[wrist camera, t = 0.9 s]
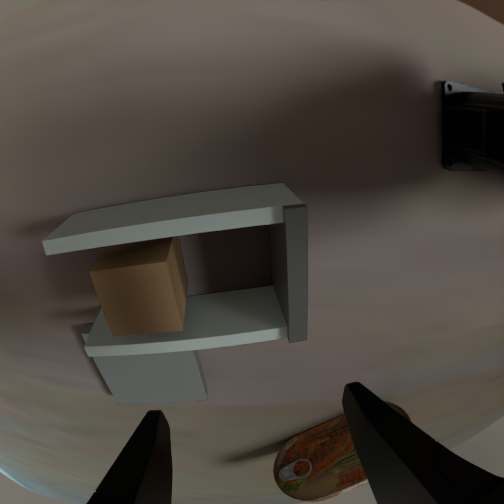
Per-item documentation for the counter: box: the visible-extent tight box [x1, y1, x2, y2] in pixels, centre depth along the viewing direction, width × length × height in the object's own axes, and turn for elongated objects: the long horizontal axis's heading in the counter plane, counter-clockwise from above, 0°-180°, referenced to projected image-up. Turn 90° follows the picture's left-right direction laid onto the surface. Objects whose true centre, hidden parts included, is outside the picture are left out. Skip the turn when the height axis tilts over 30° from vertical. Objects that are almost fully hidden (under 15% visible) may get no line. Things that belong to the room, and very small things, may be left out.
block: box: [89, 236, 188, 336], centre depth 17 cm, size 4×4×5 cm
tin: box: [273, 401, 411, 502], centre depth 26 cm, size 15×3×8 cm, turn 118°
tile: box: [81, 324, 208, 404], centre depth 22 cm, size 8×8×1 cm
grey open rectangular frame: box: [42, 183, 308, 357], centre depth 17 cm, size 13×8×5 cm, turn 95°
